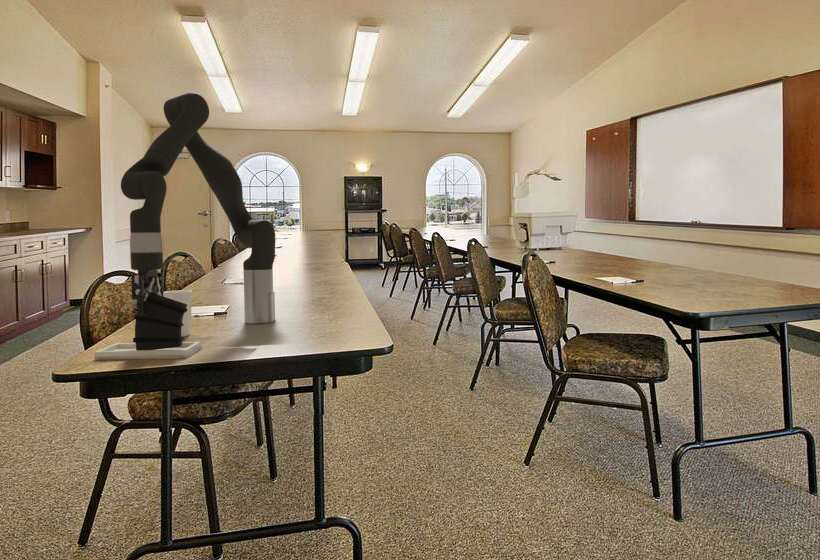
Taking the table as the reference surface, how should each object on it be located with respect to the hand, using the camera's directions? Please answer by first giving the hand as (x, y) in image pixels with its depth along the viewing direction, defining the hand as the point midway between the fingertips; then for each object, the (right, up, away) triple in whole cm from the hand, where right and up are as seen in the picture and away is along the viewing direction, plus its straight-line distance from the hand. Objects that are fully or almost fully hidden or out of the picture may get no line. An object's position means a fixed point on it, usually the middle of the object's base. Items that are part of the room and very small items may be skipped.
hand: (149, 314), depth 146 cm
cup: (-2, -9, +23) cm, 25 cm away
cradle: (0, -10, +1) cm, 10 cm away
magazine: (0, -11, +1) cm, 11 cm away
